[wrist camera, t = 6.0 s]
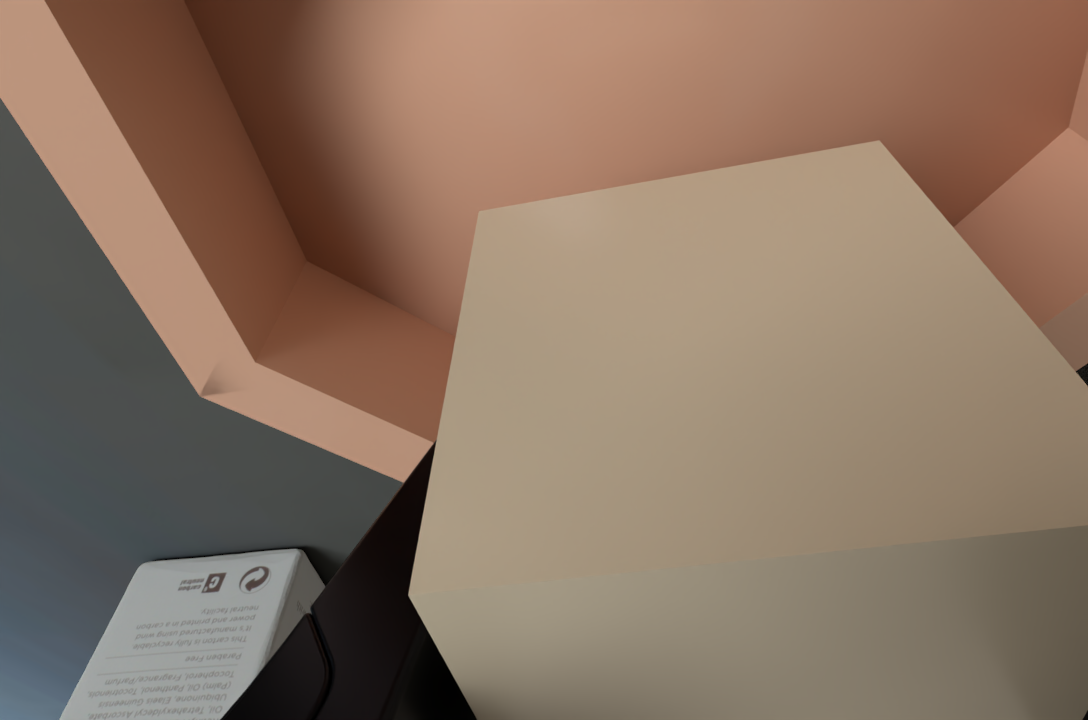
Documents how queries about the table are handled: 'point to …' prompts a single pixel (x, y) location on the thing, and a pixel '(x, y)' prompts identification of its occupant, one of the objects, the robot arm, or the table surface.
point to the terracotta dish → (503, 158)
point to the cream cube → (754, 461)
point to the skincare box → (194, 635)
